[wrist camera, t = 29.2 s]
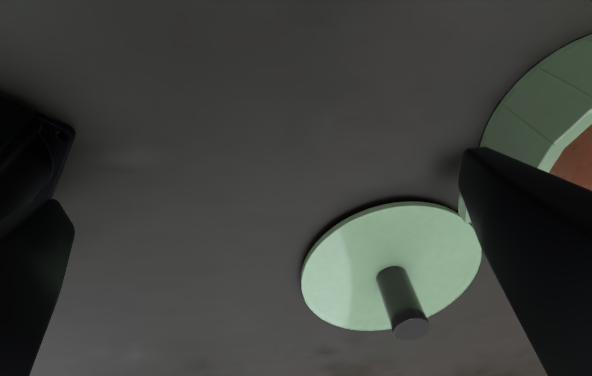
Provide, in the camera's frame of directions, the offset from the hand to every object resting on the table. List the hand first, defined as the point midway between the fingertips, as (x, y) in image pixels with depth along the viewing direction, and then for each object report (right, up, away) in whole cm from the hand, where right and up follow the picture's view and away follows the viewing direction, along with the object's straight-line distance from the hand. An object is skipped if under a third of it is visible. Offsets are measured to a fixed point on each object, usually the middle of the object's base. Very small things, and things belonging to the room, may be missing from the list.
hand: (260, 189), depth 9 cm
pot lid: (+8, -6, +21) cm, 23 cm away
